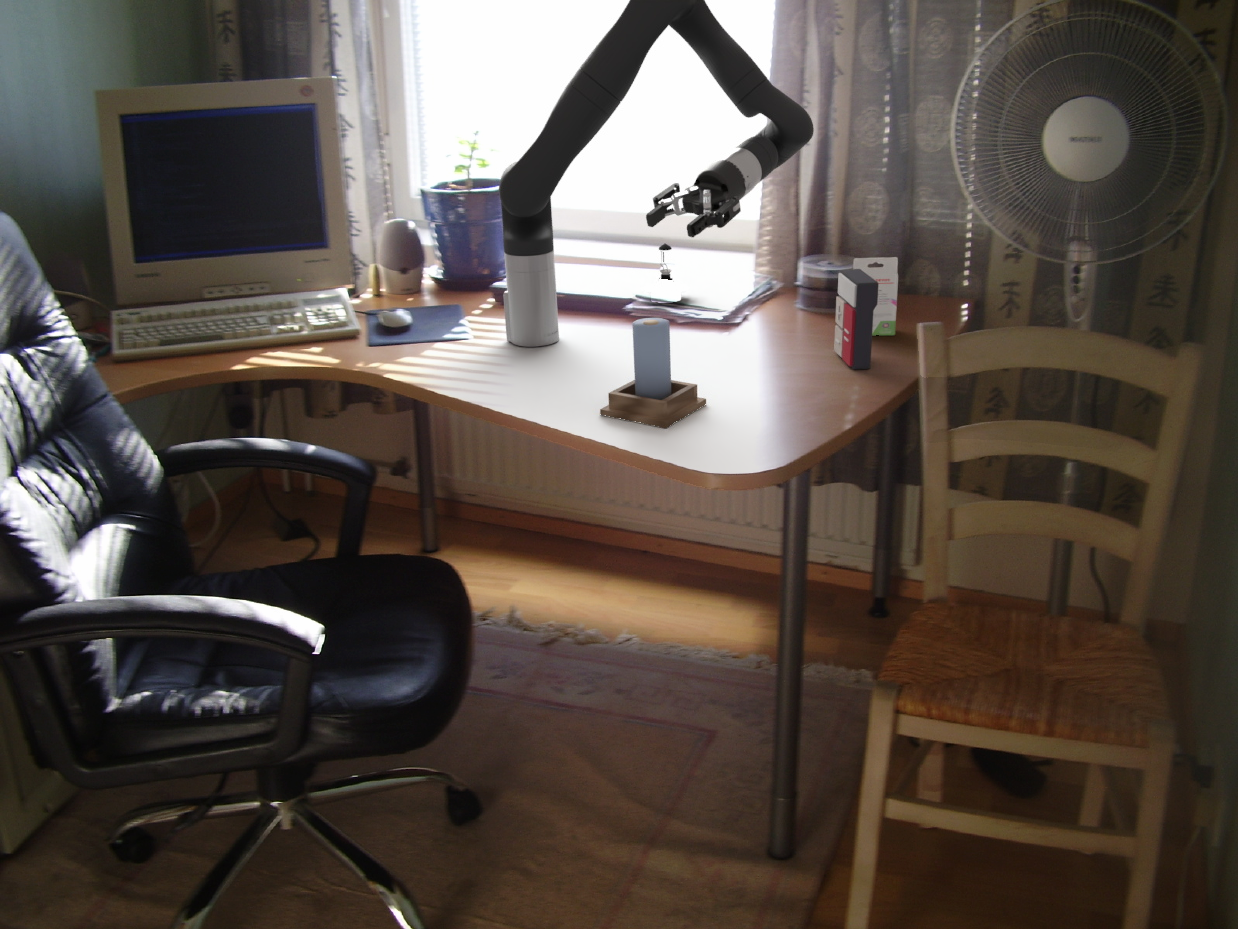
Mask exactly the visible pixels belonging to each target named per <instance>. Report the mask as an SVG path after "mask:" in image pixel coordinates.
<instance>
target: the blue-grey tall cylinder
mask: <svg viewBox="0 0 1238 929" xmlns="http://www.w3.org/2000/svg"><path fill="white" fill-rule="evenodd" d="M670 333H671V332H670V320H668V319H665V318H661V317H643V318H639V319H637V320H634V321H632V338H633V339H632V342H633V346H632V347H633V365H634V369H633V370H634V380H635V395H636V396H640V397H646V398H651V399H656V400H663V399H665V398H667V397H668V396H670V395H671V380H672V372H671V371H672V370H671V368H672V367H671V336H670V335H671V334H670Z"/></svg>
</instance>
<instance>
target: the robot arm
mask: <svg viewBox="0 0 1238 929" xmlns="http://www.w3.org/2000/svg"><path fill="white" fill-rule="evenodd" d="M668 27H670V28H671V29H672V30H674V31H675V32H676V34H678V35H679V36H680V37H681V38H682V39H683V40H684V41H685V42H686V43H687V44H688V46H689V47H691V49H692V50H693V51H694V52H695V54H696V55H697V56H698V58H699V59H700V60H701V62H702V63H703V64H704V66H705V67H706V69H707V70H708V72H709V73H710V74H711V76H712V77H713V79H714V80H715V82H716V83H717V84H718V85H719V87H720V88H721V90H722V91H723V92H724V93H725V95H726V96H727V97H728V99H729V100H730V101H731V102H732V104H733V105H734V106H735V107H736V108H737V110H738V111H739V112H740V113H741V114H742V116H744V117H745V118H753V117H755V116H757V115H759V114H760V115H761V114H762V116H764V117H766V118H768V119H769V120H770V122H769V123H768V124H766V125H765V126H764V127H763V128H762V129H761V130H760V131H759V132H758V133H756V134H755V135H754V136H751V137H749V138H747V139H745V140H744V141H743V142H742V143H740V144H739V145H738V146H736V147H735V148H734V149H732V150H731V151H728V152H726V153H725V154H723V155H722V156H720V158H718V159H716V160H715V161H713V163H711V164H710V165H709V166H707V167H706V168H704V169H703V170H702V171H701V172H699V174H698V175H697V177H696V179H695V181H694V183H693V185H691V186H689V187H686V188H685V189H684V188H681V187H680V184H679V182H678V183H676V182H675V183H673V184H671V185H669V186H668V187H667V188H665V189H664V190H662V191H661V192H659V193H658V194H656V195H655V196H654V197H652V201H653V205H654V208H653V209H651V210H650V211H649V212H647V213H646V215H645V219H646V224H647V227H648V228H649V227H650V228H654V227H655V226H657V225H658V224H659V223H660V222H661V221H663V220H664V219H665V218H666V217H668V216H672V215H676V216H681V215H682V216H683V215H686V214H694V215H697V216H696V217H695V218H694V219H693V220H691V221H690V222H689V223H688V224H687V225H686V230H687V231H686V232H687V236H688V237H690V238H695V237H696V236H697V235H700V234H701V233H702V232H703V231H705V230H706V229H707V228H713V226H716V227H717V228H718V229H719V228H720V229H721V228H723V227H725V226H726V225H727V224H729V222H731V221H732V220H733V219H734V218H735V217H736V216H737V215H739V213H741V212H742V211H741V203H740V200H742V199H743V198H744V197H746V196H747V195H748V194H749V193H750V192H751V191H752V190H753V189H754V188H755V187H756V186H757V185H758V184H760V182H762V181H763V180H764V179H765V178H767V176H769V175H770V174H771V173H772V172H773V171H774V170H776V169H778V167H781V166H783V164H785V163H786V162H788V161H789V159H791V158H792V157H793V156H794V155H796V153H798V152H799V151H800V150H801V149H802V148H804V147H805V146H806V145H807V144H808V143H809V142H810V140H811V139H812V138H813V136H814V130H815V129H814V123H813V120H812V118H811V116H810V115H809V112H807V110H806V109H805V108H804V107H803V106H801V105H800V104H799V103H797V102H796V101H795V100H794V99H792V98H791V97H789V96H788V95H787V94H785V92H783V91H782V90H781V89H778V88H777V87H776V86H775V85H773V84H772V82H771V81H770V80H769V79H768V77H767V76H766V75H765V74H764V72H763V71H762V70H761V68H760V67H759V66H758V64H757V63H756V62H755V61H754V60H753V58H752V57H751V56H750V55H749V54H748V53H747V51H746V50H744V48H742V47H741V45H740V44H739V43H738V42H736V40H735V39H734V38H733V37H732V36H731V35H730V34H729V32H727V31H726V30H725V28H724V27H723V26H722V24H720V22H719V21H718V20H717V17H715V15H714V14H713V12H712V11H711V9H710V8H709V6H708V3H707V2H706V1H705V0H629V1H628V2H627V5H626V6H625V8H624V9H623V11H622V13H621V14H620V16H619V17H618V18H617V20H616V21H615V22H614V24H613V25H612V27H610V29H609V30H608V31H607V32H606V34H605V35H604V36H603V37H602V39H601V40H600V41H599V42H598V44H597V45H596V46H595V47H594V48H593V50H592V51H591V52H590V53H589V55H588V56H587V57H586V58H585V60H584V62H582V64H581V65H580V67H579V68H578V70H577V71H576V72H575V74H574V75H573V76H572V77H571V79H570V81H569V82H568V84H567V85H566V86H565V87H564V90H563V91H562V93H561V95H560V96H559V98H558V99H557V102H556V103H555V105H554V107H553V109H552V111H551V112H550V114H549V116H548V119H547V121H546V122H545V125H544V127H543V128H542V130H541V132H540V134H539V135H538V137H537V138H536V139H535V141H534V142H533V143H532V144H531V145H530V147H529V148H528V149H527V150H526V151H525V152H524V154H523V155H522V156H521V157H520V158H519V160H517V161H515V162H513V163H511V164H509V165H508V166H507V167H506V168H505V169H504V170H503V171H502V174H501V177H500V180H499V184H498V196H499V198H500V199H499V200H500V205H501V206H500V207H501V219H502V220H501V221H502V240H503V241H502V243H503V254H504V265H505V266H504V268H505V277H506V278H505V279H506V290H505V291H504V292H503V295H502V297H503V307H504V320H505V334H506V341H507V342H510V343H512V344H513V345H515V346H519V347H526V348H527V347H529V348H532V347H534V348H535V347H544V346H548V345H552V344H555V343H556V342H558V341H559V339H560V331H559V314H558V298H557V297H558V296H557V284H556V282H557V281H556V280H557V279H556V268H555V250H554V230H553V229H554V227H553V215H552V214H553V213H552V212H553V211H552V198H551V197H552V196H553V193H554V192H555V189H556V188H557V186H558V185H559V183H560V181H561V180H562V178H563V176H564V175H565V173H566V172H567V170H568V168H569V167H570V166H571V164H572V163H573V161H574V160H575V158H577V156H578V155H579V154H580V153H581V152H582V151H583V150H584V149H585V148H586V147H587V146H588V145H589V143H590V142H591V141H592V139H593V138H595V136H597V134H598V133H599V131H600V130H601V129H602V128H603V126H604V125H605V124H606V123H607V121H608V120H609V119H610V118H611V116H612V115H613V114H614V112H615V111H616V110H617V108H618V107H619V105H621V102H623V101H624V99H625V97H626V96H627V94H628V92H629V91H630V89H631V87H632V85H633V83H634V82H635V80H636V77H637V76H638V74H639V71H640V70H641V68H642V65H643V63H644V61H645V59H646V58H647V55H648V53H649V52H650V50H651V48H652V46H653V45H654V44H655V43H656V41H657V40H658V39H659V38H660V36H661V35H662V34H663V33H664V31H665V30H666V29H667V28H668ZM680 200H682V201H681V203H682V207H680V205H679V202H680ZM672 205H673V207H672V208H669V207H670V206H672ZM668 208H669V209H668Z"/></svg>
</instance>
